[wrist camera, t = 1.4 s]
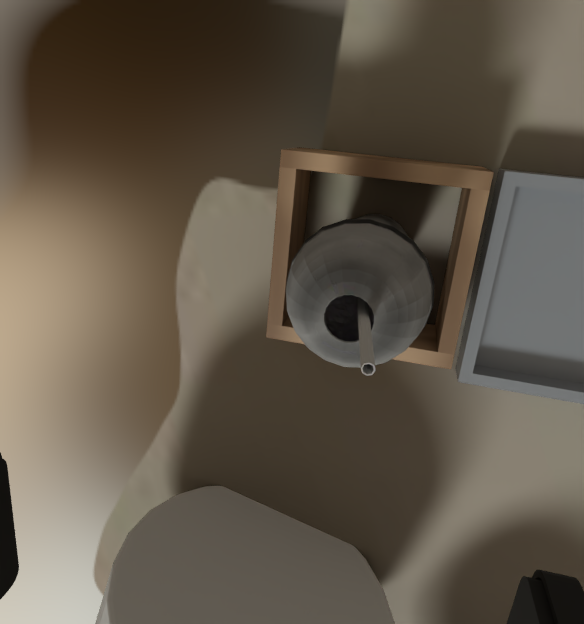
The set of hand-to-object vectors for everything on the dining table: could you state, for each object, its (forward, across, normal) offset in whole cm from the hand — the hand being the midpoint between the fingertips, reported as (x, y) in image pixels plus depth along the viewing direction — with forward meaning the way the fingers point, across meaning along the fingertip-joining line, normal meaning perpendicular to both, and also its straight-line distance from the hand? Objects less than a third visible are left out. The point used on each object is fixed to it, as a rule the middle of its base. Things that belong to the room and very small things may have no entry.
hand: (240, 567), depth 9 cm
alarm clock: (+30, +4, +28) cm, 41 cm away
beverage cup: (+30, -1, 0) cm, 30 cm away
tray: (+29, -15, +1) cm, 33 cm away
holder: (+29, -1, 0) cm, 29 cm away
